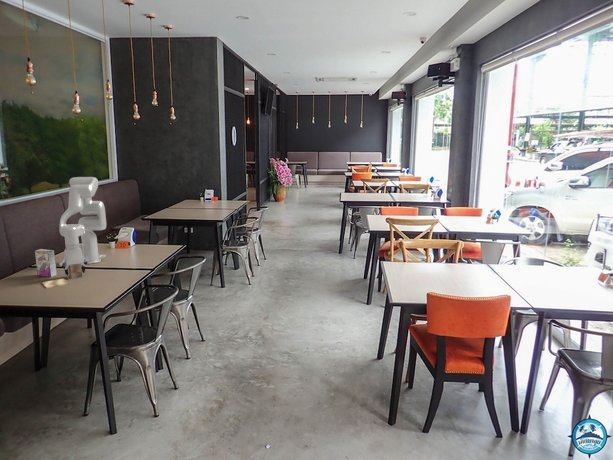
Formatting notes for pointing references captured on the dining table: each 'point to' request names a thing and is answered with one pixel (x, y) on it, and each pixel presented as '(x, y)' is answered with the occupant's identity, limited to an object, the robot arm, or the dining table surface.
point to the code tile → (75, 278)
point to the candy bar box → (45, 263)
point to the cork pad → (55, 283)
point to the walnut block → (75, 271)
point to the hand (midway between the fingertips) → (75, 273)
